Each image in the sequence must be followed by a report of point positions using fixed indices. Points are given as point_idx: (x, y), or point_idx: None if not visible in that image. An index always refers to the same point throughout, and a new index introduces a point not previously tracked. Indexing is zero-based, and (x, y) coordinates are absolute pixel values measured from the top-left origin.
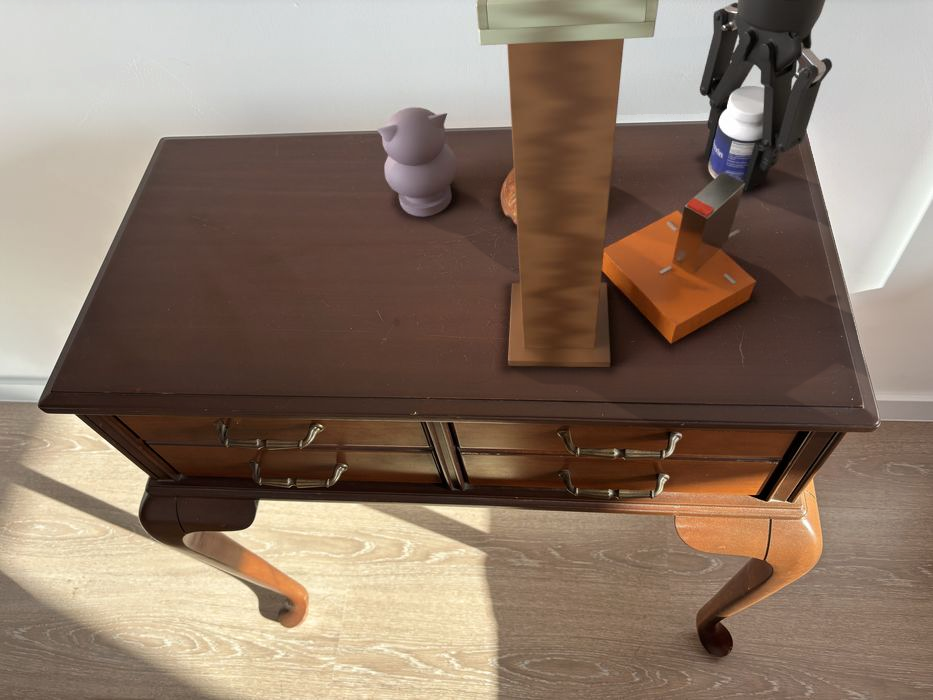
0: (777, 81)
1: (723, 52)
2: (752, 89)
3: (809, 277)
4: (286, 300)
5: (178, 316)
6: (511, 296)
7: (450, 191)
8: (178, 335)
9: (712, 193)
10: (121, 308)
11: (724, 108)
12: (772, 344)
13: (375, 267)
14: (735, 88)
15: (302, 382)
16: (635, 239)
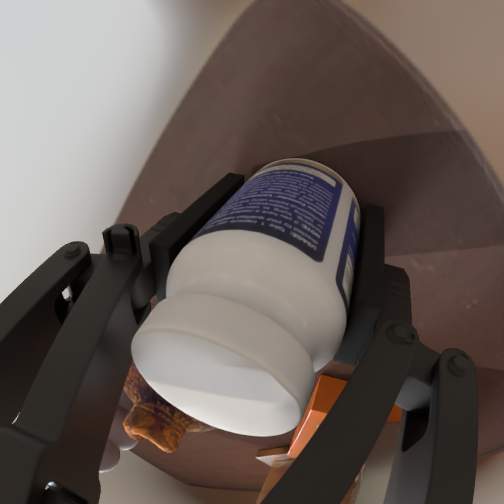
0: None
1: (8, 391)
2: (159, 352)
3: None
4: (181, 460)
5: (167, 465)
6: (266, 463)
7: (133, 403)
8: (178, 471)
9: None
10: (152, 462)
11: (159, 282)
12: (499, 420)
13: (181, 445)
14: (121, 326)
15: (238, 485)
16: (304, 445)
